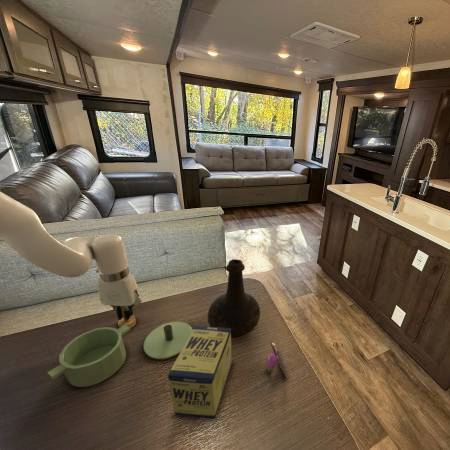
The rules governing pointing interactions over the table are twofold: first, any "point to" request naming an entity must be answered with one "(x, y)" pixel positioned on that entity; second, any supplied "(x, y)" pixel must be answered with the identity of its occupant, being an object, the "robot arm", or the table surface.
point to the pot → (92, 356)
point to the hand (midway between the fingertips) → (125, 316)
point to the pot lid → (167, 340)
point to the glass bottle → (235, 305)
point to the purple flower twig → (274, 360)
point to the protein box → (201, 372)
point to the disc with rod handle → (123, 321)
